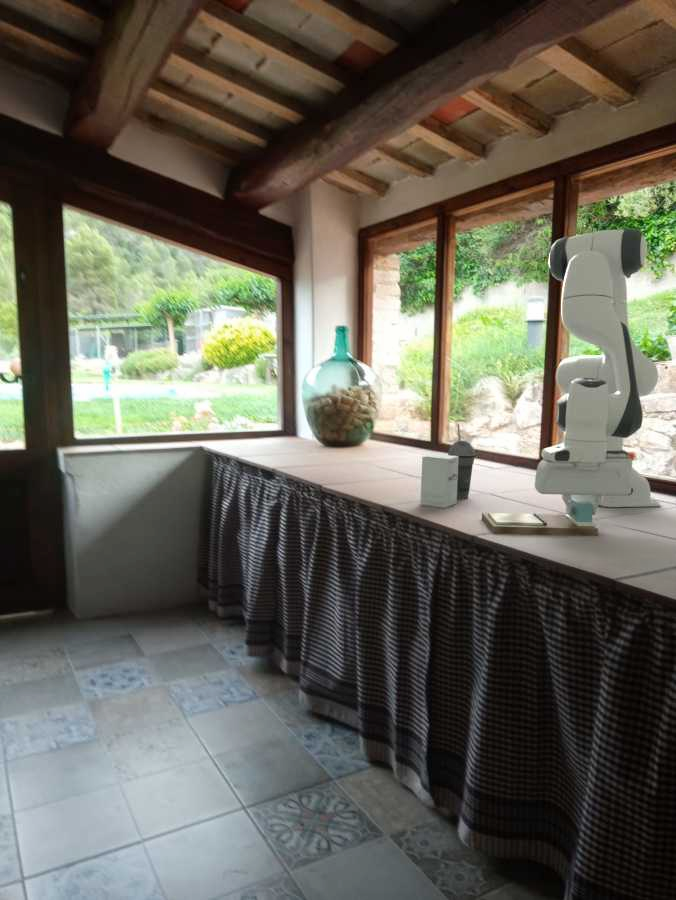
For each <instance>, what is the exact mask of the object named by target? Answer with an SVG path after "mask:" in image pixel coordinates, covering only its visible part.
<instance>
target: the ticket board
mask: <svg viewBox="0 0 676 900" xmlns="http://www.w3.org/2000/svg"><path fill="white" fill-rule="evenodd" d="M481 520H482V522H483V523H484V524H485V525H486V526H487V527H488V529H489V530H490V531H491V533H493V534H504V535H505V534H509V535H511V534H513V535H544V536H545V535H551V536H552V535H553V536H557V535H559V536H585V537H586V536H587V537H589V536H591V537H593V536H598V535H599V528H598V527H597V526H577V525H576V524H575V523H573V522H572V521H570V520H569V519H567V518H566V517H565V514H548V513H547V514H545V513H544V514H543V513H542V514H540V513H539V514H538V513H518V512H517V513H515V512H514V513H512V512H509V513H508V512H500V513H499V512H481Z"/></svg>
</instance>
